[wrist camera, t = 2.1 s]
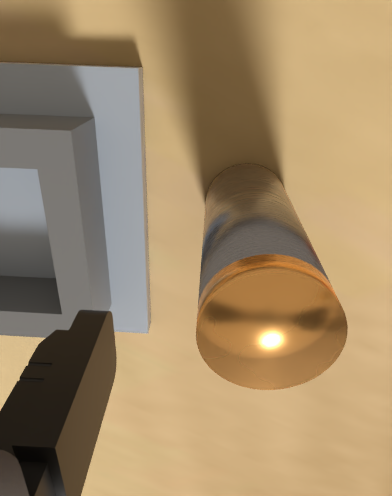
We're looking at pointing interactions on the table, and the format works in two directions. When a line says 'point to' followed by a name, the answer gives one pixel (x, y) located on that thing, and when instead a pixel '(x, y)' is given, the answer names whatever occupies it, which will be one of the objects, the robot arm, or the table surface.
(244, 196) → the cylinder
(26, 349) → the table surface
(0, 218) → the socket
